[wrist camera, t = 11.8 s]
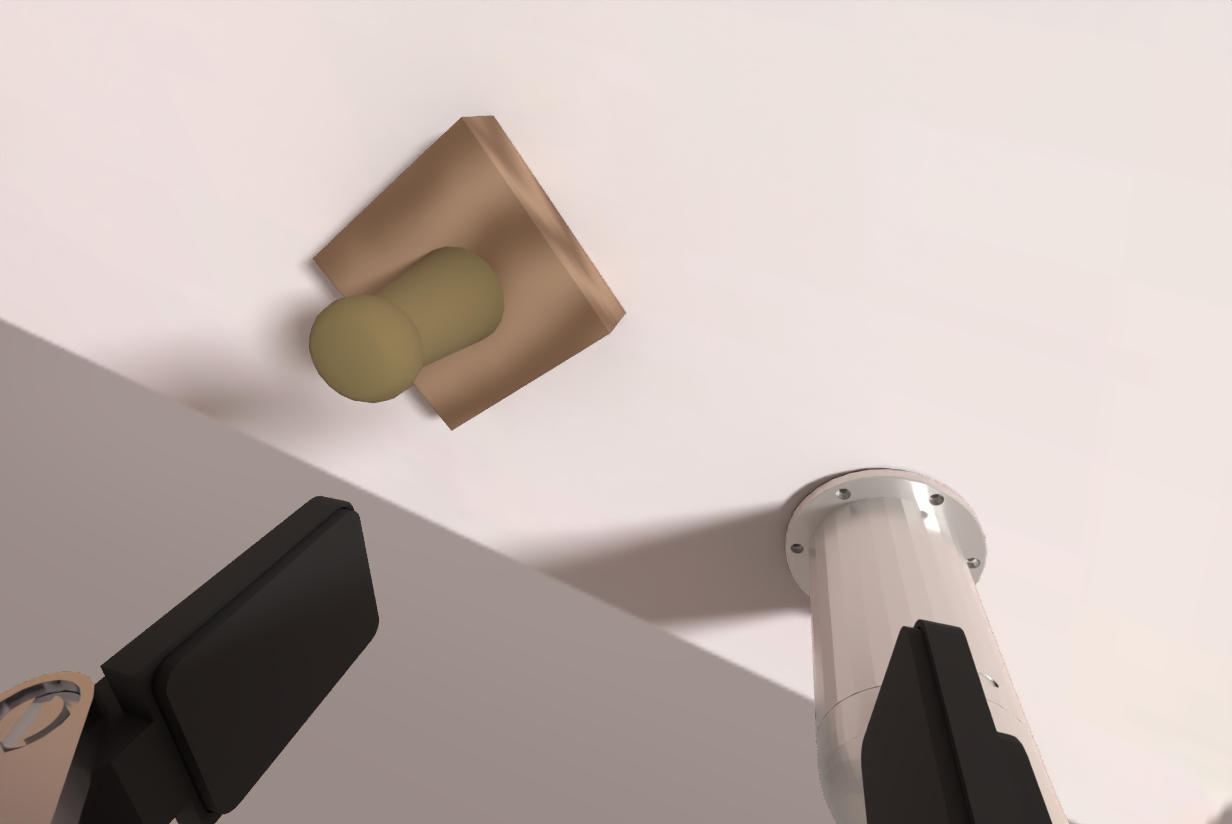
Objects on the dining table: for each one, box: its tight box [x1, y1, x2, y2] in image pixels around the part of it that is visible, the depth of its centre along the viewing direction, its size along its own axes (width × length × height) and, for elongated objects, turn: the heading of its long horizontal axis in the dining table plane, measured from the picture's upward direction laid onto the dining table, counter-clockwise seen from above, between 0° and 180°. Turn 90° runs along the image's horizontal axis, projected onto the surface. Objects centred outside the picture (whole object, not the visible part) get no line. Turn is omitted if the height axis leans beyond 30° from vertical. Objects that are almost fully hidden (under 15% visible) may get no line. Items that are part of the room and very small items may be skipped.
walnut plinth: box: [313, 116, 626, 431], centre depth 39 cm, size 14×14×4 cm
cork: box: [309, 246, 505, 403], centre depth 32 cm, size 6×6×11 cm
